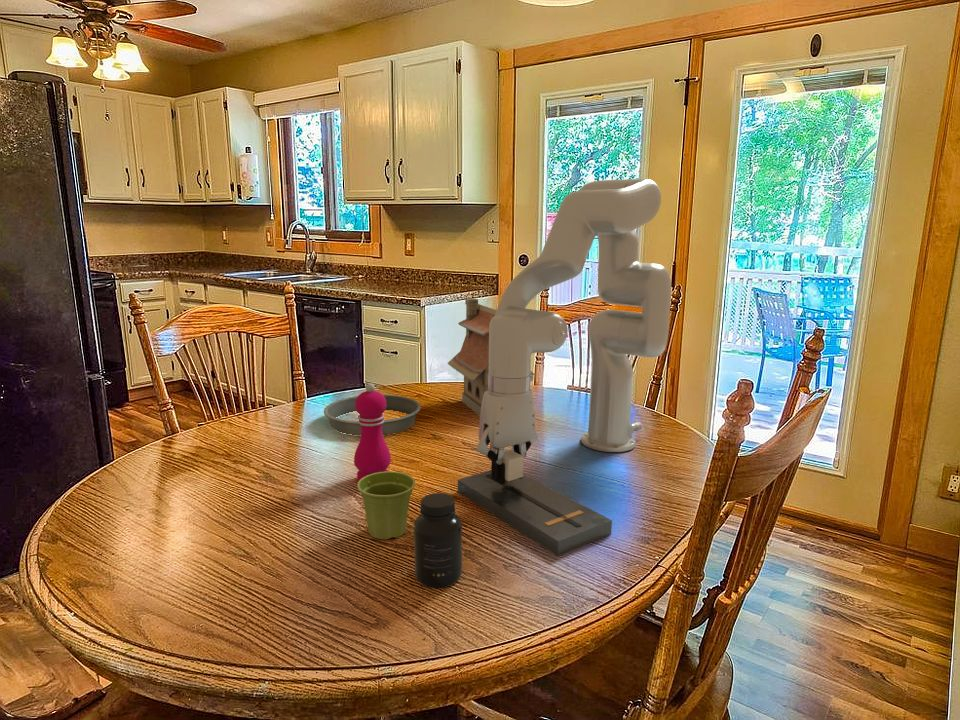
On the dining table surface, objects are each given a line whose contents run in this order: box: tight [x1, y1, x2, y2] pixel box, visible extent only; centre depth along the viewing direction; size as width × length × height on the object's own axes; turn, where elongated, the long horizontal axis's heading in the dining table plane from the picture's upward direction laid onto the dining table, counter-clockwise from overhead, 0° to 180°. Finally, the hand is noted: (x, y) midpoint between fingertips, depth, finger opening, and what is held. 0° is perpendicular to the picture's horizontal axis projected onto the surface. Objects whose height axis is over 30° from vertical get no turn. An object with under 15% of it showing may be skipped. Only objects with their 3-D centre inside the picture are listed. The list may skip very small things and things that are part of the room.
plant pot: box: [356, 470, 416, 540], centre depth 99 cm, size 9×9×9 cm
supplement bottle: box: [413, 492, 463, 589], centre depth 86 cm, size 7×7×12 cm
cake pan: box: [323, 394, 422, 436], centre depth 154 cm, size 25×25×4 cm
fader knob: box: [496, 447, 525, 484], centre depth 111 cm, size 5×4×6 cm
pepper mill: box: [353, 382, 392, 483], centre depth 117 cm, size 7×7×20 cm
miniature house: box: [447, 297, 535, 417], centre depth 163 cm, size 18×24×30 cm
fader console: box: [457, 469, 613, 557], centre depth 107 cm, size 28×12×3 cm, turn 36°
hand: (507, 478), depth 111 cm, fingers closed on fader knob, 3 cm apart
